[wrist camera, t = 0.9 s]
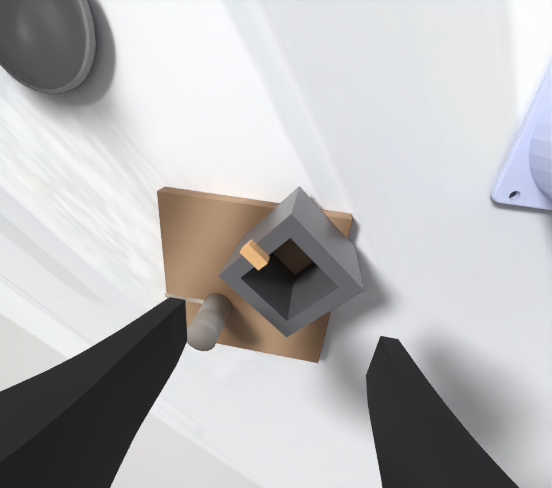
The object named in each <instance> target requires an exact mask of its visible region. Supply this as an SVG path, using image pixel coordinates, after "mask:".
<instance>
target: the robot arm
mask: <svg viewBox="0 0 552 488" xmlns="http://www.w3.org/2000/svg"><path fill="white" fill-rule="evenodd" d="M514 191H516V195H515V196H514V197H512V198H509V195H510V194H511V193H512V192H514ZM491 198H492V199H493V200H494V201H496V202H498V203H503V204H510V205H517V206H525V207H532V208H539V209H547V210H552V60H551V62H550V65H549V67H548V69H547V71H546V73H545V75H544V78H543V80H542V82H541V84H540V86H539V89H538V91H537V93H536V95H535V97H534V99H533V102H532V104H531V106H530V108H529V110H528V113H527V115H526V117H525V119H524V121H523V123H522V126H521V128H520V130H519V132H518V134H517V137H516V139H515V141H514V143H513V145H512V148H511V150H510V152H509V154H508V156H507V158H506V161H505V163H504V165H503V167H502V169H501V172H500V174H499V176H498V178H497V180H496V182H495V185H494V187H493V189H492V191H491ZM187 340H188V339H187V321H186V302H185V300H183V299H178V298H173V297H169V298H168V299H166V300H165V301H163V302H162V303H160V304H159V305H157V306H156V307H154V308H153V309H151V310H150V311H148V312H147V313H145V314H144V315H142V316H141V317H139V318H138V319H136V320H135V321H133V322H131V323H130V324H128V325H127V326H125V327H124V328H122V329H121V330H119V331H117V332H116V333H114V334H112V335H111V336H109V337H107V338H106V339H104V340H102V341H101V342H99V343H97V344H96V345H94V346H92V347H91V348H89V349H87V350H85V351H84V352H82V353H80V354H78V355H76V356H74V357H73V358H71V359H69V360H67V361H65V362H63V363H61V364H59V365H57V366H55V367H53V368H51V369H49V370H47V371H45V372H43V373H41V374H39V375H36V376H34V377H32V378H30V379H27V380H25V381H23V382H21V383H19V384H16V385H14V386H12V387H10V388H7V389H5V390H3V391H1V392H0V488H110V487H111V484H112V482H113V480H114V478H115V476H116V474H117V472H118V469H119V467H120V465H121V463H122V461H123V459H124V457H125V455H126V453H127V451H128V449H129V447H130V445H131V443H132V441H133V439H134V437H135V435H136V433H137V431H138V430H139V428H140V426H141V424H142V422H143V421H144V419H145V417H146V416H147V414H148V412H149V411H150V409H151V407H152V406H153V404H154V402H155V401H156V399H157V397H158V396H159V394H160V392H161V391H162V389H163V387H164V386H165V384H166V382H167V380H168V379H169V377H170V375H171V374H172V372H173V370H174V368H175V367H176V365H177V363H178V361H179V358H180V356H181V354H182V352H183V349H184V347H185V345H186V342H187ZM366 382H367V399H368V408H369V414H370V420H371V426H372V431H373V437H374V442H375V448H376V453H377V459H378V464H379V470H380V475H381V481H382V488H519V487H518V486H517V485H516V484H515V483H514V482H513V481H512V480H511V479H510V478H509V477H508V476H507V475H506V474H505V472H504V471H503V470H502V469H501V468H500V467H499V466H498V465H497V464H496V463H495V462H494V460H493V459H492V458H491V457H490V456H489V455H488V454H487V453H486V452H485V451H484V450H483V448H482V447H481V446H480V445H479V444H478V443H477V442H476V441H475V439H474V438H473V437H472V436H471V435H470V434H469V432H468V431H467V430H466V429H465V428H464V426H463V425H462V424H461V423H460V421H459V420H458V419H457V418H456V417H455V415H454V414H453V413H452V412H451V411H450V409H449V408H448V407H447V405H446V404H445V403H444V402H443V400H442V399H441V398H440V396H439V395H438V394H437V392H436V391H435V390H434V388H433V387H432V386H431V384H430V383H429V382H428V380H427V379H426V378H425V376H424V375H423V373H422V372H421V371H420V369H419V368H418V366H417V365H416V364H415V362H414V361H413V359H412V358H411V356H410V355H409V354H408V352H407V351H406V349H405V348H404V347H403V345H402V344H401V342H400V341H399V340H398V339H394V338H389V337H384V336H380V339H379V342H378V344H377V347H376V350H375V352H374V355H373V358H372V361H371V363H370V366H369V369H368V372H367V374H366Z"/></svg>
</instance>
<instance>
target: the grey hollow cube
mask: <svg viewBox="0 0 552 488" xmlns="http://www.w3.org/2000/svg"><path fill="white" fill-rule="evenodd" d="M289 238H291V239H292V240H293V241H294V242H295V243H296V244H297V245H298V246H299V247H300V248H301V249H302V250H303V251H304V252H305V253H306V254H307V255H308V256H309V257H310V258H311V259H312V260H313V261H314V262H312V263H311V264H309V265H308V266H307V267H305V268H304V269H303V270H301V271H300V272H298V273H297V274H296V275H295V274H294V273H293V272H292V271H291V270H290V269H288V268H287V267H286V266H285V265H284V264H283V263H282V262H281V261H280V260H279V259H278V258H277V257H276V256H275V255H274V254H273V253H272V252H273V251H275V250H276V249H277V248H278V247H279V246H281V245H282V244H283V243H284V242H286V241H287V240H288V239H289ZM218 276H219V277H220V278H221V279H222V280H223V281H224V282H225V283H227V284H228V285H229V286H230V287H231V288H232V289H233V290H234V291H235V292H237V293H238V294H239V295H240V296H241V297H242V298H243V299H244V300H245V301H247V302H248V303H249V304H250V305H251V306H252V307H253V308H254V309H255V310H256V311H258V312H259V313H260V314H261V315H262V316H263V317H264V318H265V319H266V320H268V321H269V322H270V323H271V324H272V325H273V326H274V327H275V328H276V329H278V330H279V331H280V332H281V333H282V334H283V335H284V336H285V337H286V338H287V337H288V336H290V335H292V334H293V333H295V332H296V331H298V330H300V329H301V328H303V327H305V326H306V325H308V324H309V323H311V322H313V321H314V320H316V319H318V318H319V317H321V316H322V315H324V314H326V313H327V312H329V311H331V310H332V309H334V308H336V307H337V306H339V305H340V304H342V303H344V302H345V301H347V300H349V299H350V298H352V297H353V296H355V295H357V294H358V293H360V292H362V291H363V290H364V288H363V283H362V278H361V274H360V269H359V264H358V259H357V255H356V250H355V246H354V245H353V244H352V243H351V242H350V241H349V240H348V239H347V238H346V237H345V236H344V234H343V233H342V232H341V231H340V230H339V229H338V228H337V227H336V226H335V225H334V223H333V222H332V221H331V220H330V219H329V218H328V217H327V216H326V215H325V214H324V213H323V211H322V210H321V209H320V208H319V207H318V206H317V205H316V204H315V203H314V202H313V201H312V199H311V198H310V197H309V196H308V195H307V194H306V193H305V192H304V191H303V190H302V189H301V187H300V186H299V187H298V188H297V189H296V190H295V191H294V192H293V193H291V194H290V195H289V196H288V197H287V198H286V199H285V200H284V201H282V202H281V203H280V204H279V205H278V206H277V207H276V208H275V209H273V210H272V211H271V212H270V213H269V214H268V215H267V216H266V217H265V218H263V219H262V220H261V221H260V222H259V223H258V224H257V225H256V226H254V227H253V228H252V229H251V230H250V231H249V232H248V233H247V234H245V235H244V236H243V237H242V238H241V240H240V241H239V243H238V244H237V246H236V248H235V249H234V251H233V253H232V254H231V256H230V258H229V259H228V261H227V262H226V264H225V266H224V267H223V269H222V271H221V272H220V274H219V275H218Z"/></svg>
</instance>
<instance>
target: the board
mask: <svg viewBox="0 0 552 488" xmlns="http://www.w3.org/2000/svg"><path fill="white" fill-rule="evenodd" d="M157 196H158V206H159V217H160V227H161V238H162V249H163V259H164V270H165V280H166V291H167V293H165V297H167V299H168V298H169V297H173V298H178V299H183V300H185V302H186V321H187V339H188V340H187V343H188V344H189V345H190V346H191V347H193V348H194V349H197V350H200V351H208V350H211V349H212V348H214V346H215V344H216V343H218V344H223V345H228V346H233V347H238V348H243V349H248V350H254V351H259V352H264V353H269V354H274V355H279V356H284V357H290V358H295V359H300V360H305V361H310V362H315V363H318V361H319V357H320V353H321V349H322V345H323V340H324V336H325V332H326V328H327V324H328V319H329V315H330V311H329V312H327V313H326V314H324V315H322V316H321V317H319V318H318V319H316V320H314V321H313V322H311V323H309V324H308V325H306V326H305V327H303V328H301V329H300V330H298V331H296V332H295V333H293V334H292V335H290V336H288V337H287V338H286V337H285V336H284V335H283V334H282V333H281V332H280V331H279V330H278V329H276V328H275V327H274V326H273V325H272V324H271V323H270V322H269V321H268V320H266V319H265V318H264V317H263V316H262V315H261V314H260V313H259V312H258V311H256V310H255V309H254V308H253V307H252V306H251V305H250V304H249V303H248V302H247V301H245V300H244V299H243V298H242V297H241V296H240V295H239V294H238V293H237V292H235V291H234V290H233V289H232V288H231V287H230V286H229V285H228V284H227V283H225V282H224V281H223V280H222V279H221V278H220V277H219V276H218V275H219V274H220V272H221V271H222V269H223V267H224V266H225V264H226V262H227V261H228V259H229V258H230V256H231V254H232V253H233V251H234V249H235V248H236V246H237V244H238V243H239V241H240V240H241V238H242V237H243V236H244V235H245V234H247V233H248V232H249V231H250V230H251V229H252V228H253V227H254V226H256V225H257V224H258V223H259V222H260V221H261V220H262V219H263V218H265V217H266V216H267V215H268V214H269V213H270V212H271V211H272V210H273V209H275V208H276V207H277V206H278V205H279V204H280V203H273V202H266V201H259V200H252V199H245V198H239V197H232V196H225V195H218V194H211V193H204V192H197V191H190V190H184V189H177V188H170V187H164V188H162V189H160V190H158V191H157ZM322 211H323V213H324V214H325V215H326V216H327V217H328V218H329V219H330V220H331V221H332V222H333V223H334V225H335V226H336V227H337V228H338V229H339V230H340V231H341V232H342V233H343V234H344V236H345V237H346V238H347V239H348V236H349V232H350V227H351V223H352V216H351V214H349V213H342V212H335V211H328V210H322ZM272 253H273V254H274V255H275V256H276V257H277V258H278V259H279V260H280V261H281V262H282V263H283V264H284V265H285V266H286V267H287V268H288V269H290V270H291V271H292V272H293V273H294V274H295V275H296V274H297V273H298V272H300V271H301V270H303V269H304V268H305V267H307V266H308V265H309V264H311V263H312V262H314V261H313V260H312V259H311V258H310V257H309V256H308V255H307V254H306V253H305V252H304V251H303V250H302V249H301V248H300V247H299V246H298V245H297V244H296V243H295V242H294V241H293V240H292V239H291V238H289V239H288V240H287V241H286V242H284V243H283V244H282V245H281V246H279V247H278V248H277V249H276V250H275V251H273V252H272Z"/></svg>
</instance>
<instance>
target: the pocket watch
mask: <svg viewBox="0 0 552 488" xmlns="http://www.w3.org/2000/svg"><path fill="white" fill-rule="evenodd" d="M95 48H96V39H95V30H94V21H93V17H92V14H91V11H90V8H89V4H88V2H87V0H0V65H1V66H2V67H3V68H4V69H5V70H6V71H7V72H8V73H9V74H10V75H11V76H12V77H13V78H14V79H16V80H17V81H19V82H20V83H22V84H23V85H25V86H27V87H29V88H32V89H34V90H37V91H41V92H46V93H58V94H59V93H62V92H65V91H70V90H72V89H74V88H76V87H78V86H79V85H80V84H81V83H82V82H83V81H84V80H85V79H86V77H87V75H88V74H89V72H90V70H91V67H92V64H93V61H94V56H95Z"/></svg>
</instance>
